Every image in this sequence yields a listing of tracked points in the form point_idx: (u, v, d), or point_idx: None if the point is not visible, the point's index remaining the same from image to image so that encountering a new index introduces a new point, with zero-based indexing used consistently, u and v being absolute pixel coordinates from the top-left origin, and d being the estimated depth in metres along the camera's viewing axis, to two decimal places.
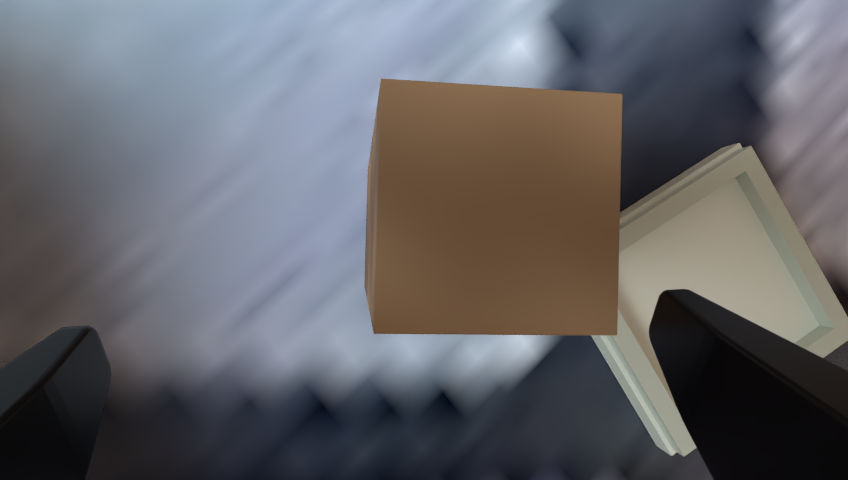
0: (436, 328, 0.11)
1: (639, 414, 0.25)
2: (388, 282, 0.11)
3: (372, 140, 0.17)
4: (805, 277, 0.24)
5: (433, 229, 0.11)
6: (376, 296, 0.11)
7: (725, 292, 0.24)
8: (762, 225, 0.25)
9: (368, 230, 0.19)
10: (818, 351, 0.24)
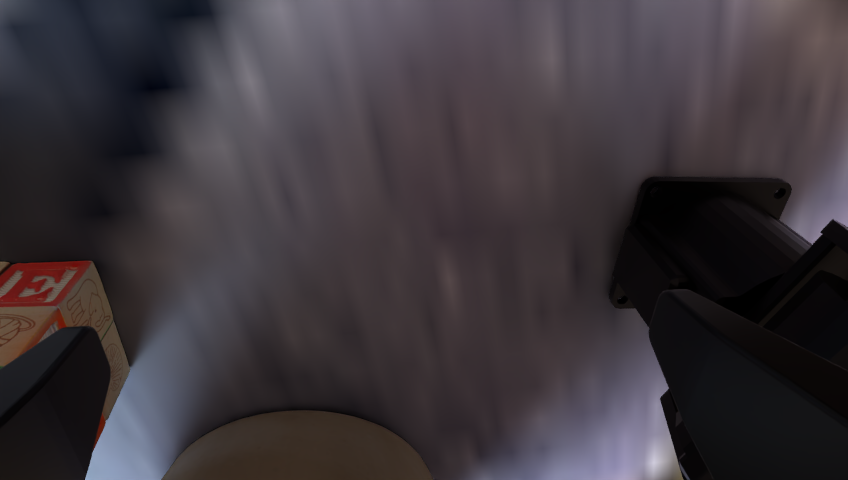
0: None
1: None
2: None
3: None
4: None
5: None
6: None
7: None
8: None
9: None
10: None
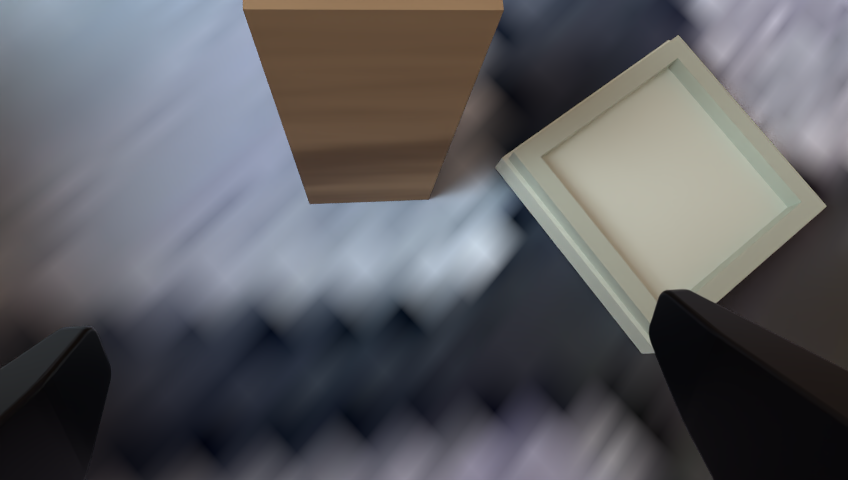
0: (309, 5, 0.10)
1: (616, 318, 0.23)
2: None
3: None
4: (760, 154, 0.23)
5: None
6: None
7: (682, 180, 0.24)
8: (707, 113, 0.24)
9: None
10: (790, 226, 0.23)
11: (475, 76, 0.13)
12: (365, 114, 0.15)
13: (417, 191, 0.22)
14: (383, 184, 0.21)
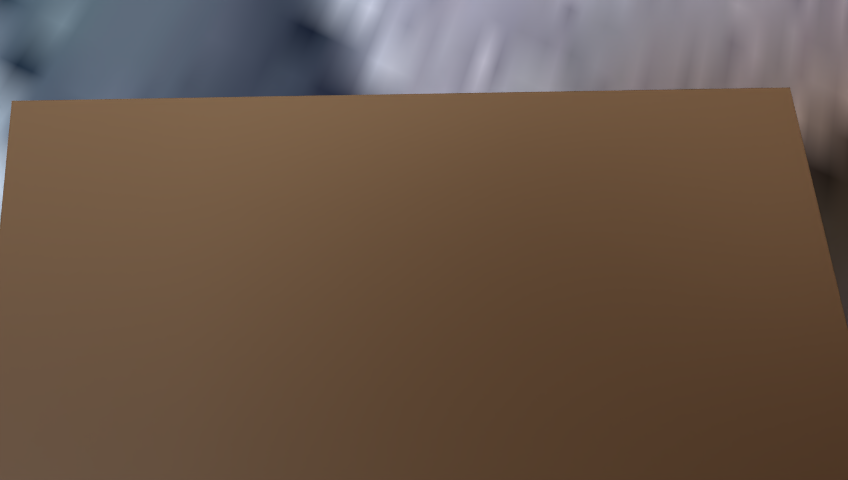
0: None
1: None
2: None
3: None
4: None
5: None
6: None
7: None
8: None
9: None
10: None
11: None
12: None
13: None
14: None
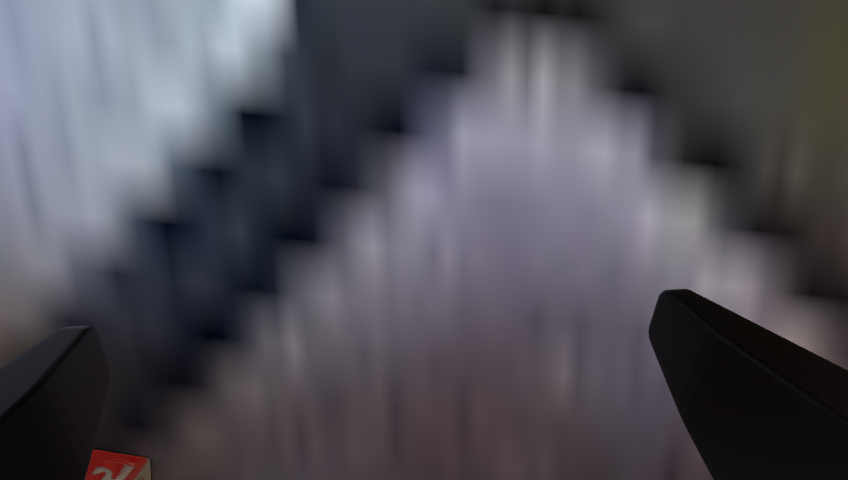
0: None
1: None
2: None
3: None
4: None
5: None
6: None
7: None
8: None
9: None
10: None
11: None
12: None
13: None
14: None
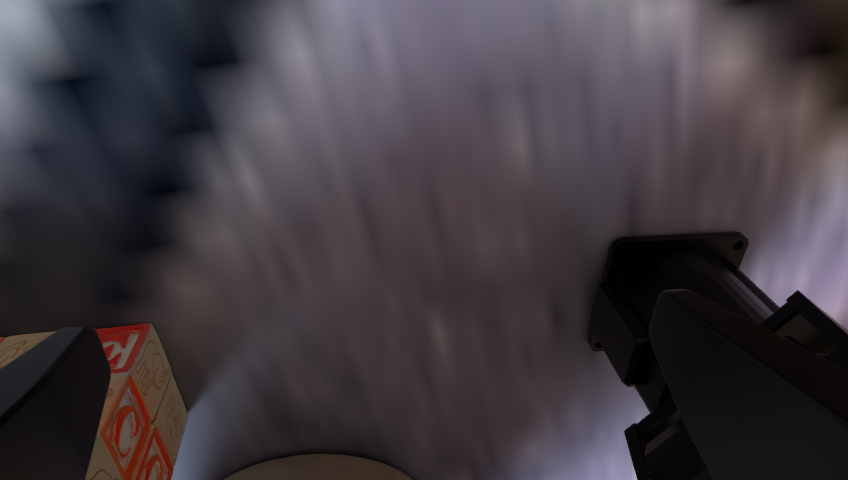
0: None
1: None
2: None
3: None
4: None
5: None
6: None
7: None
8: None
9: None
10: None
11: None
12: None
13: None
14: None
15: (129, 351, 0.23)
